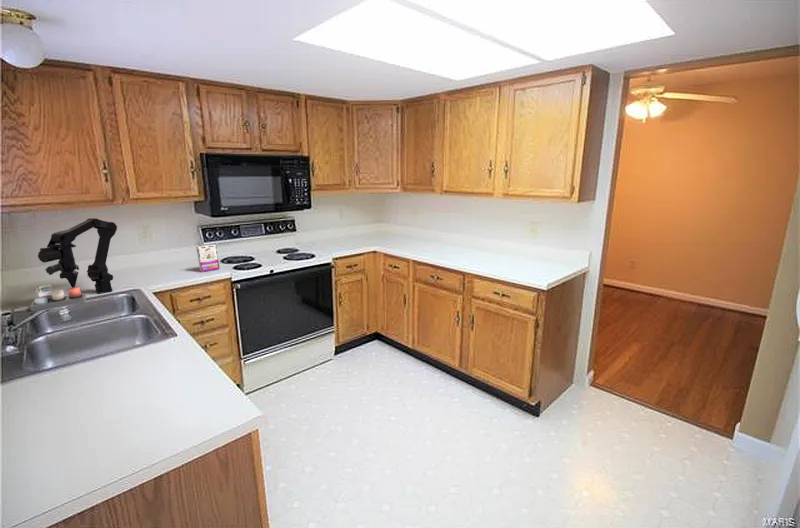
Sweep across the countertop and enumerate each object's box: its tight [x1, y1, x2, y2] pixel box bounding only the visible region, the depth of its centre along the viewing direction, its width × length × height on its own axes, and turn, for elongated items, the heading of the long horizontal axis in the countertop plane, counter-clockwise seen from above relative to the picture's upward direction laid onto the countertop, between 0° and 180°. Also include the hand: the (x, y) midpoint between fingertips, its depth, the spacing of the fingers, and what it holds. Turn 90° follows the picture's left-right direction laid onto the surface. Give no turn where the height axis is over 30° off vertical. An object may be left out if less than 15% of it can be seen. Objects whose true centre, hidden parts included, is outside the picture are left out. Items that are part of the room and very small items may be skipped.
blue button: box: [33, 297, 48, 304], centre depth 184 cm, size 5×5×4 cm
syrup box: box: [34, 283, 54, 299], centre depth 191 cm, size 6×6×14 cm
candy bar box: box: [195, 244, 220, 273], centre depth 247 cm, size 11×5×16 cm, turn 131°
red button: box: [67, 286, 82, 298], centre depth 191 cm, size 5×5×4 cm
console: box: [29, 292, 87, 312], centre depth 188 cm, size 20×10×2 cm, turn 127°
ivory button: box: [51, 289, 66, 300], centre depth 188 cm, size 5×5×4 cm
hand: (73, 287), depth 191 cm, fingers closed
